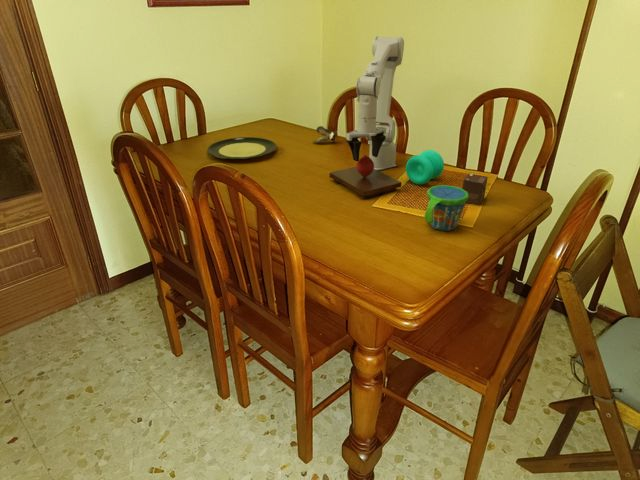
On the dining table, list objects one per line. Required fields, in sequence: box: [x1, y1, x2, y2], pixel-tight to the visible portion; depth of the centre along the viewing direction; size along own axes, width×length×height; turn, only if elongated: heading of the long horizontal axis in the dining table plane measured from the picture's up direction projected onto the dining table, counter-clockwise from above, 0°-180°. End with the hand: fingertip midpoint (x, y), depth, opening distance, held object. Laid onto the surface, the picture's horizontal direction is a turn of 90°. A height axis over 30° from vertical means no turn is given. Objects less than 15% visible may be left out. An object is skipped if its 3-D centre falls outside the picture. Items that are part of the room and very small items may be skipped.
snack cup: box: [423, 184, 469, 232], centre depth 123 cm, size 16×10×10 cm
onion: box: [355, 153, 374, 177], centre depth 148 cm, size 6×6×8 cm
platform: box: [329, 166, 402, 199], centre depth 151 cm, size 15×20×3 cm
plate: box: [206, 136, 278, 161], centre depth 182 cm, size 28×28×2 cm
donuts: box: [405, 149, 445, 185], centre depth 152 cm, size 10×10×10 cm
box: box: [461, 173, 489, 206], centre depth 138 cm, size 6×6×7 cm
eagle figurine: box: [313, 125, 338, 144], centre depth 192 cm, size 8×7×9 cm
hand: (365, 158), depth 147 cm, fingers open, 7 cm apart
